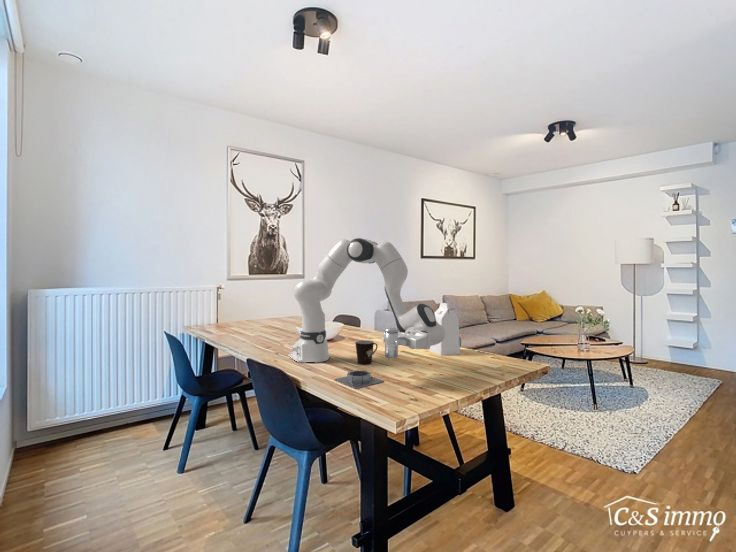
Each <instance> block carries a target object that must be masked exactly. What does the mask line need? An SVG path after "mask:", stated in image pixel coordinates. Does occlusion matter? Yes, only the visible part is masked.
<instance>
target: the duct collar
mask: <svg viewBox="0 0 736 552" xmlns="http://www.w3.org/2000/svg"><path fill="white" fill-rule="evenodd" d="M371 373H372V372H370V371H368V370H359V369H358V370H352V371H347V374H346V376H343V377H342V376H341V377H338V378H334V379H333V380H335V382H337V381H338V382H337V383H339V382H340V384H342V383H343V384H342V385H345V386H347V385H348V386H347V387H349V388H352V387H353V389H355V390H356V389H361V388H365V387H370V386H372V385H376V384H377V385H378V384H380V383H384V382H385V381H384V380H383V379H381V378H378V377H374V376H371Z"/></svg>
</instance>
